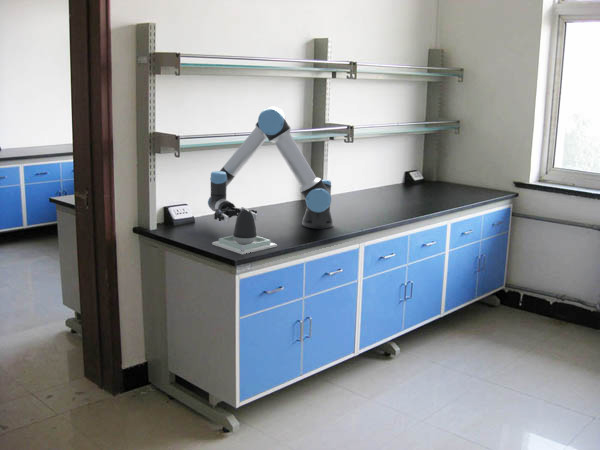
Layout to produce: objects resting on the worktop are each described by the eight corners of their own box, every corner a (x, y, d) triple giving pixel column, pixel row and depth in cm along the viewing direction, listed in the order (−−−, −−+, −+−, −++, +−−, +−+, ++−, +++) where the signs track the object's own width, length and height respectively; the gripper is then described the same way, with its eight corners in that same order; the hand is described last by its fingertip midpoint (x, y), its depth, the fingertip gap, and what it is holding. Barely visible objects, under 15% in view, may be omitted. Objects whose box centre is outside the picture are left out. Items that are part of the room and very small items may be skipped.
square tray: (246, 237, 303) (246, 229, 302) (277, 246, 290) (277, 238, 289) (212, 244, 289) (212, 236, 288) (242, 254, 275) (242, 246, 275)
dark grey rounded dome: (255, 240, 295) (256, 206, 291) (257, 246, 285) (258, 211, 281) (232, 240, 293) (232, 206, 290) (233, 246, 283) (234, 211, 280)
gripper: (250, 214, 314) (268, 224, 295) (199, 218, 303) (215, 229, 284) (250, 199, 312) (268, 208, 293) (199, 202, 301) (215, 212, 282)
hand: (242, 218), depth 289 cm, fingers open, 13 cm apart
